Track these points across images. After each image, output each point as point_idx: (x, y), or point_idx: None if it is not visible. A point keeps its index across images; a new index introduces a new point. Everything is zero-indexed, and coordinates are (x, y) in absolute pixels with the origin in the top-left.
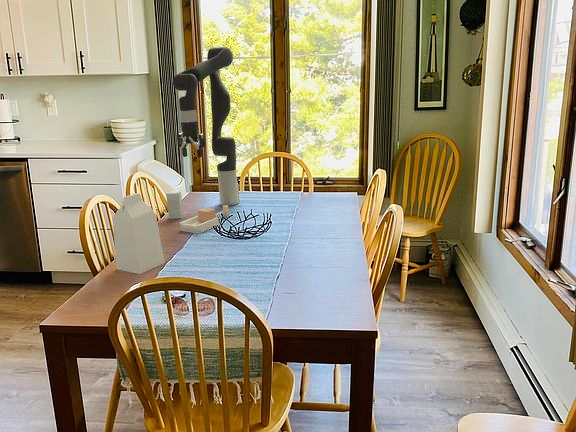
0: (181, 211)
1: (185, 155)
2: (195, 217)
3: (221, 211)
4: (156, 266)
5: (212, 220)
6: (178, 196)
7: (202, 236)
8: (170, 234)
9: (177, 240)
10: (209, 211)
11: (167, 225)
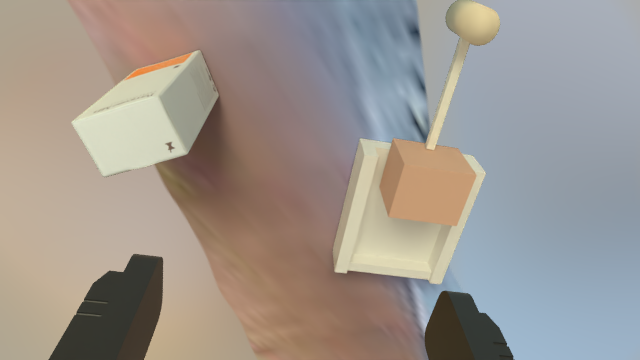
0: (207, 92)
1: (156, 302)
2: (366, 194)
3: (457, 57)
4: None
5: (469, 212)
6: (191, 146)
7: (455, 282)
8: (321, 289)
9: (384, 329)
10: (460, 215)
11: (230, 205)
